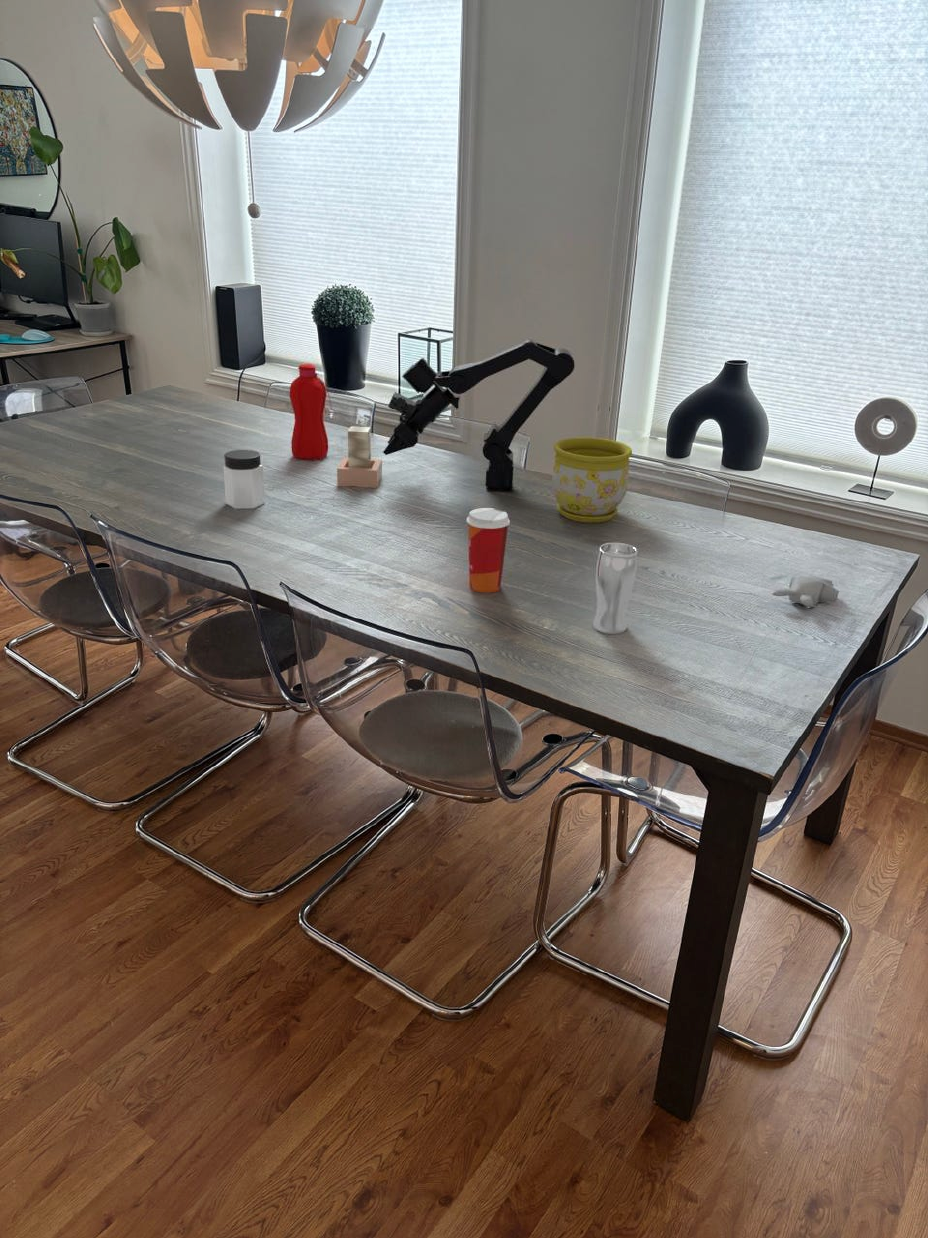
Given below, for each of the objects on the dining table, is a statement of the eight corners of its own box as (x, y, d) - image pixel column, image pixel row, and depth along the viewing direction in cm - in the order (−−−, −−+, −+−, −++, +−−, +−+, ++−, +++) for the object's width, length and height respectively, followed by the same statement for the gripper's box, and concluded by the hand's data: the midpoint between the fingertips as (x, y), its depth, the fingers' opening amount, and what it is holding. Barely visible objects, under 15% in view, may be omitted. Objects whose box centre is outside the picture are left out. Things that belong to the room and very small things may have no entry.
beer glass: (625, 618, 174) (634, 542, 168) (632, 635, 168) (642, 557, 162) (587, 618, 174) (595, 541, 167) (593, 635, 168) (601, 556, 161)
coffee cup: (481, 575, 190) (484, 503, 184) (514, 586, 186) (519, 513, 179) (454, 587, 184) (457, 514, 178) (488, 599, 180) (491, 524, 173)
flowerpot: (568, 497, 238) (574, 432, 231) (635, 511, 230) (643, 445, 223) (535, 516, 224) (540, 448, 217) (606, 532, 216) (614, 462, 209)
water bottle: (327, 462, 258) (325, 369, 247) (288, 459, 259) (284, 366, 248) (337, 453, 266) (335, 362, 255) (299, 450, 267) (295, 360, 256)
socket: (381, 476, 248) (381, 459, 246) (376, 487, 239) (376, 470, 237) (343, 474, 249) (343, 457, 247) (337, 485, 240) (337, 468, 238)
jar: (224, 509, 220) (220, 459, 215) (227, 498, 228) (223, 449, 223) (263, 509, 222) (260, 459, 217) (265, 498, 229) (262, 449, 224)
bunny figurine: (849, 580, 185) (818, 593, 174) (842, 605, 186) (811, 619, 176) (803, 566, 190) (770, 578, 180) (797, 590, 192) (764, 603, 181)
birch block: (370, 474, 246) (370, 427, 240) (368, 480, 241) (367, 432, 236) (351, 473, 246) (350, 426, 240) (348, 479, 241) (347, 431, 236)
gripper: (411, 375, 241) (369, 416, 246) (403, 390, 224) (358, 434, 229) (442, 407, 244) (399, 447, 249) (436, 424, 227) (390, 467, 232)
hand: (386, 448), depth 240 cm, fingers open, 9 cm apart
